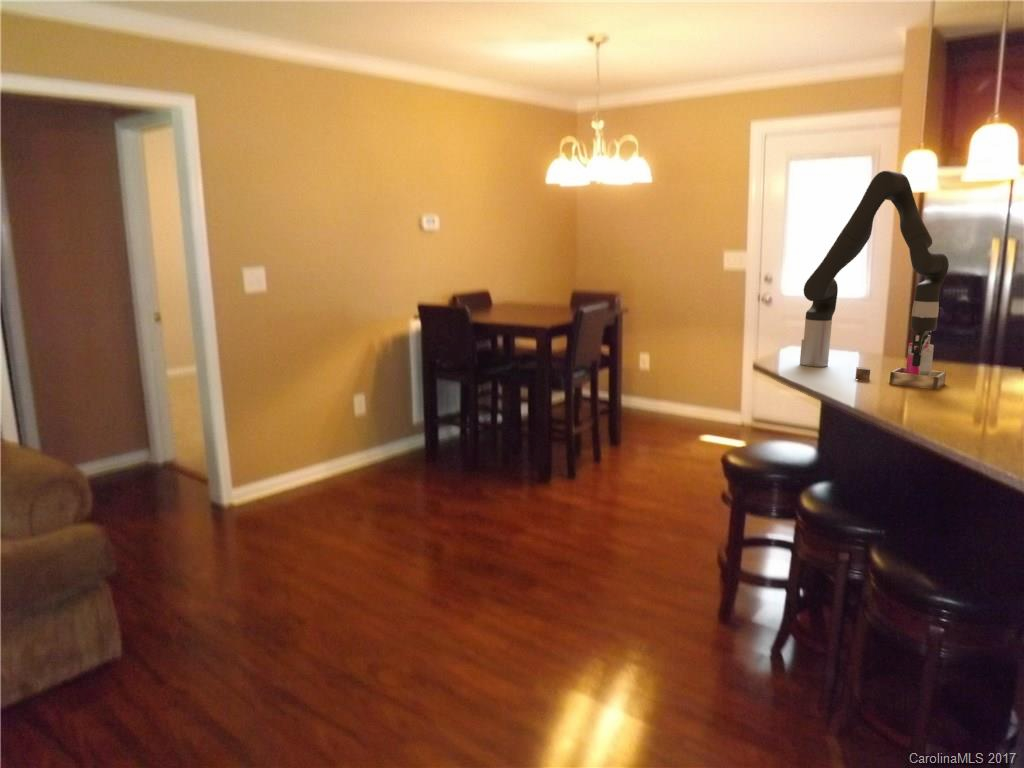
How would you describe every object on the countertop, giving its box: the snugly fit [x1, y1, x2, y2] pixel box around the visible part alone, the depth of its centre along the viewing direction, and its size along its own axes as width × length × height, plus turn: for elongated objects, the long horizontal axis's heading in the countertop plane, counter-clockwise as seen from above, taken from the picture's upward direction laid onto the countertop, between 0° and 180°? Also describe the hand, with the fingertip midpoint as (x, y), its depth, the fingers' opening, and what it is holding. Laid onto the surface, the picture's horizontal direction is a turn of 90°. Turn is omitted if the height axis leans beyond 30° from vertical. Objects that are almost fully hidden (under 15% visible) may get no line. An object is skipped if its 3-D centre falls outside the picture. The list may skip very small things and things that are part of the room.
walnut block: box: [855, 366, 871, 381], centre depth 256 cm, size 4×4×4 cm
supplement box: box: [905, 342, 935, 376], centre depth 247 cm, size 6×6×12 cm
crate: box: [889, 366, 947, 391], centre depth 248 cm, size 14×12×4 cm
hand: (918, 364), depth 248 cm, fingers closed on supplement box, 8 cm apart
